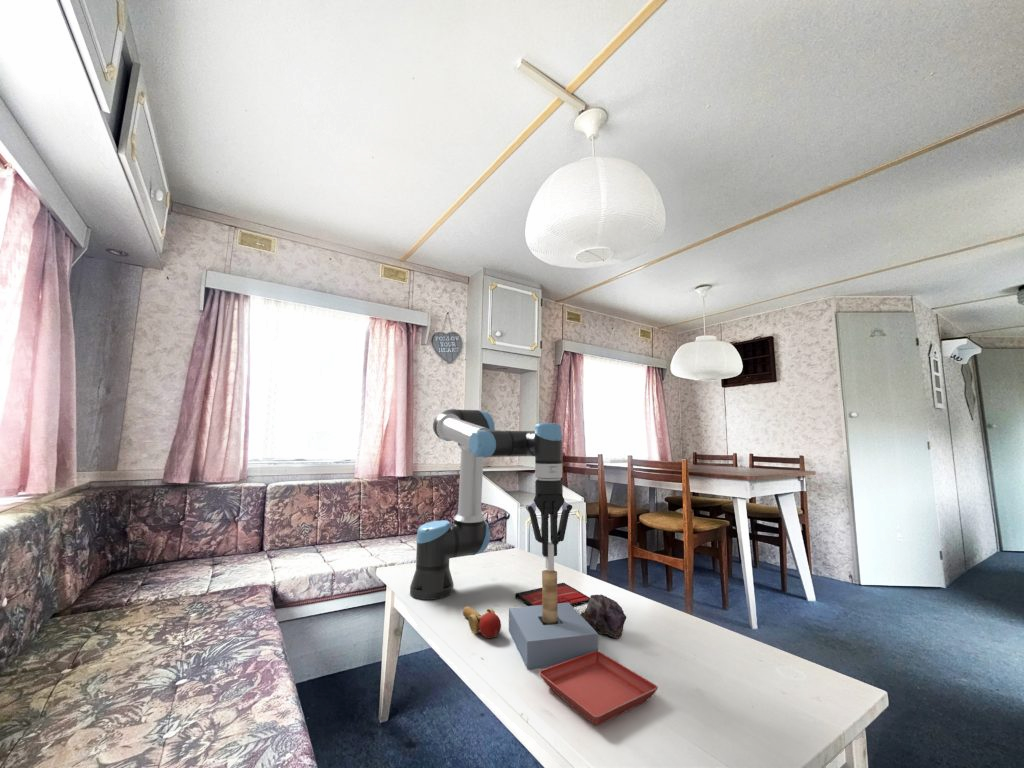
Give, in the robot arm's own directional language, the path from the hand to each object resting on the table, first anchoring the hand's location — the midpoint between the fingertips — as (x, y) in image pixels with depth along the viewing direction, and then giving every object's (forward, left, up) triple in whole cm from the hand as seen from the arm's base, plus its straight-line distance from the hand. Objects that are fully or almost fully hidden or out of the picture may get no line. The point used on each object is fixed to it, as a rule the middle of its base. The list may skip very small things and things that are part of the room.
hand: (549, 568), depth 109 cm
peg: (0, 0, -19) cm, 19 cm away
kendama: (-14, -17, -19) cm, 29 cm away
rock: (-4, +17, -19) cm, 26 cm away
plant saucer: (+22, +3, -20) cm, 29 cm away
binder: (-29, +11, -20) cm, 37 cm away
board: (0, 0, -19) cm, 19 cm away
